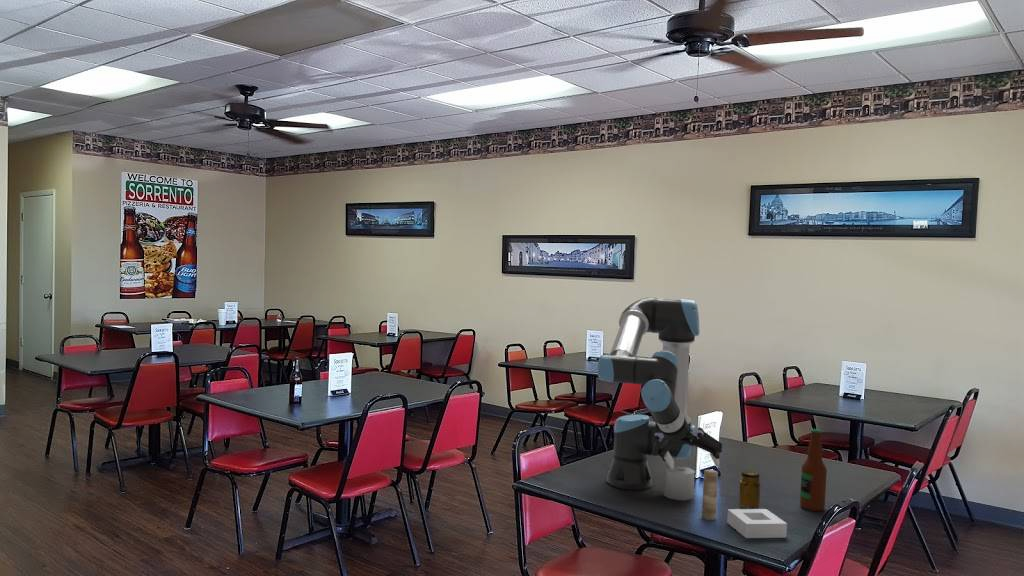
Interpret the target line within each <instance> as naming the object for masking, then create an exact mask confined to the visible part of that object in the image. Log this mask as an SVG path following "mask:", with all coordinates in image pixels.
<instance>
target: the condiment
mask: <svg viewBox="0 0 1024 576" xmlns="http://www.w3.org/2000/svg"><path fill="white" fill-rule="evenodd" d="M760 495H761V482H760V473H758V472H756V471H752V470H751V471H750V470H744V471H741V476H740V480H739V493H738V508H739V509H760V500H761V498H760V497H761V496H760Z"/></svg>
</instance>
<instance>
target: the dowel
mask: <svg viewBox="0 0 1024 576" xmlns="http://www.w3.org/2000/svg"><path fill="white" fill-rule="evenodd" d="M718 475H719V472H718V471H717V470H714V469H705V470H703V482H702V483H703V484H702V485H703V486H702V487H703V488H702V503H701V506H702V507H701V508H702V509H701V519H703V520H705V521H715V520H716V519H717V518H716V517H717V515H716V514H717V497H718V479H719V478H718V477H719V476H718Z"/></svg>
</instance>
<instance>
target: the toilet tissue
mask: <svg viewBox="0 0 1024 576" xmlns="http://www.w3.org/2000/svg"><path fill="white" fill-rule="evenodd" d="M663 484H664V485H663V496H665V498H668V499H671V500H674V499H675V500H674V501H689V500H690V499H691V500H692V499H693V498H694V487H695V486H694V485H695V469H693V468H691V467H688V466H683V465H682V466H681V465H674V469H672V470H671V468H670V467H669V465H668V466H666V467H665V468H664V482H663Z"/></svg>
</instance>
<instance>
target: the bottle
mask: <svg viewBox="0 0 1024 576" xmlns="http://www.w3.org/2000/svg"><path fill="white" fill-rule="evenodd" d="M822 431H823V430H821V429H817V428H811V429H810V432H811V433H810V441H809V443H808V448H807V458H806V460H805V461H804V462H803V464H802V466H801V477H800V493H799V494H800V495H799V496H800V497H799V498H800V499H799V505H800V506H801V508H803V509H804V510H807V511H811V512H822V511H824V509H825V507H826V491H827V490H826V489H827V471H828V469H827V467H826V465H825V463H824V461H823V444H822V439H821V438H822V433H823V432H822Z"/></svg>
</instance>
